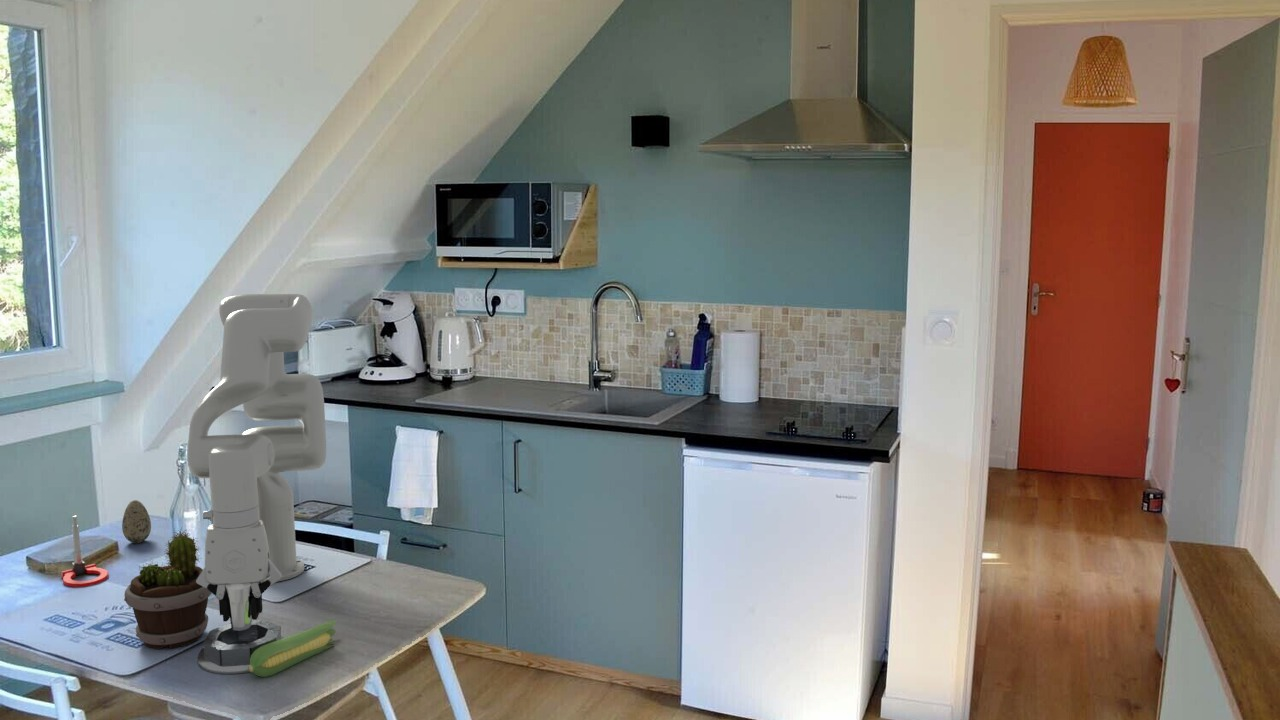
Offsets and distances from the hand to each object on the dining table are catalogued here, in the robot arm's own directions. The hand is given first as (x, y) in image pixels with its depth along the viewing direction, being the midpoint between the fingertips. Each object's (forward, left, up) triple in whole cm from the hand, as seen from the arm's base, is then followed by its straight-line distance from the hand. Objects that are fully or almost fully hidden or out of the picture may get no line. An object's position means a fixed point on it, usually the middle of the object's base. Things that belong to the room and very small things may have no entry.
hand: (241, 616), depth 184 cm
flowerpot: (-9, -14, -7) cm, 18 cm away
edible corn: (+3, +10, -8) cm, 13 cm away
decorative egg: (-64, -36, -7) cm, 74 cm away
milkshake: (0, 0, -2) cm, 2 cm away
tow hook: (-42, -40, -8) cm, 59 cm away
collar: (0, 0, -7) cm, 7 cm away
